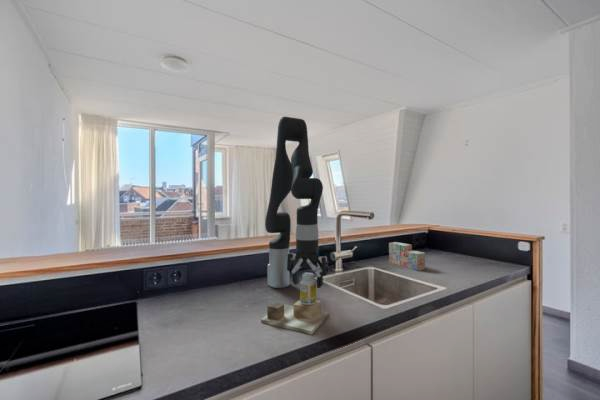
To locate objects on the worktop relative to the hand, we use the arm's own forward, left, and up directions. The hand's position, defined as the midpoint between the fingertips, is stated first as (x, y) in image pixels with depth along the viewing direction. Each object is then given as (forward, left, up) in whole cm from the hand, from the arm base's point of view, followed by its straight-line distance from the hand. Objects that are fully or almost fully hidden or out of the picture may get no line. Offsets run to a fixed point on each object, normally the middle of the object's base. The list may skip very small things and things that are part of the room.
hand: (307, 285), depth 94 cm
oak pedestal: (0, 0, -11) cm, 11 cm away
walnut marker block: (-8, -7, -11) cm, 15 cm away
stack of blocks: (+22, +87, -11) cm, 90 cm away
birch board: (-3, -3, -11) cm, 12 cm away
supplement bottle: (0, 0, -6) cm, 6 cm away
